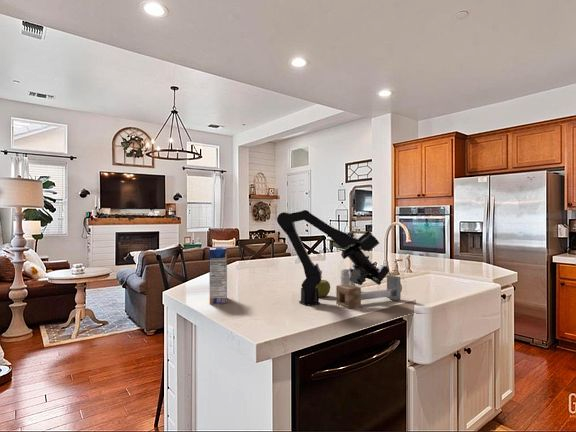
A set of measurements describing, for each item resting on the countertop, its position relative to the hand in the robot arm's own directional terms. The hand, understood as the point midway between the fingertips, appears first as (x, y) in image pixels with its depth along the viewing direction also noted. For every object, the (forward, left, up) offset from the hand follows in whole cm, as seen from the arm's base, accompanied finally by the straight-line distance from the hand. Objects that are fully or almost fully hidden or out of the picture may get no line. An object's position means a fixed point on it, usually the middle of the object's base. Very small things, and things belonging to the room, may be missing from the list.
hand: (379, 283), depth 148 cm
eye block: (-16, 0, -7) cm, 18 cm away
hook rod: (-3, 0, -7) cm, 7 cm away
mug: (0, +22, -7) cm, 23 cm away
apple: (-17, +19, -7) cm, 26 cm away
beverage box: (-60, +31, -7) cm, 68 cm away
